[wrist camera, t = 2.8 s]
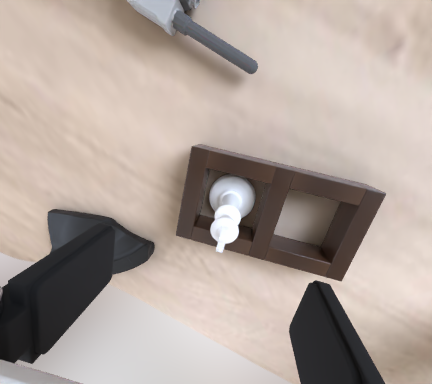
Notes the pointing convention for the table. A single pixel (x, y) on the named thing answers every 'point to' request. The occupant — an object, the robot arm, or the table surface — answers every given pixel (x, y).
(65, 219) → the curved wedge
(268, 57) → the table surface
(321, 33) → the table surface
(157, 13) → the walkie-talkie
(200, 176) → the rack
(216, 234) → the chess piece
